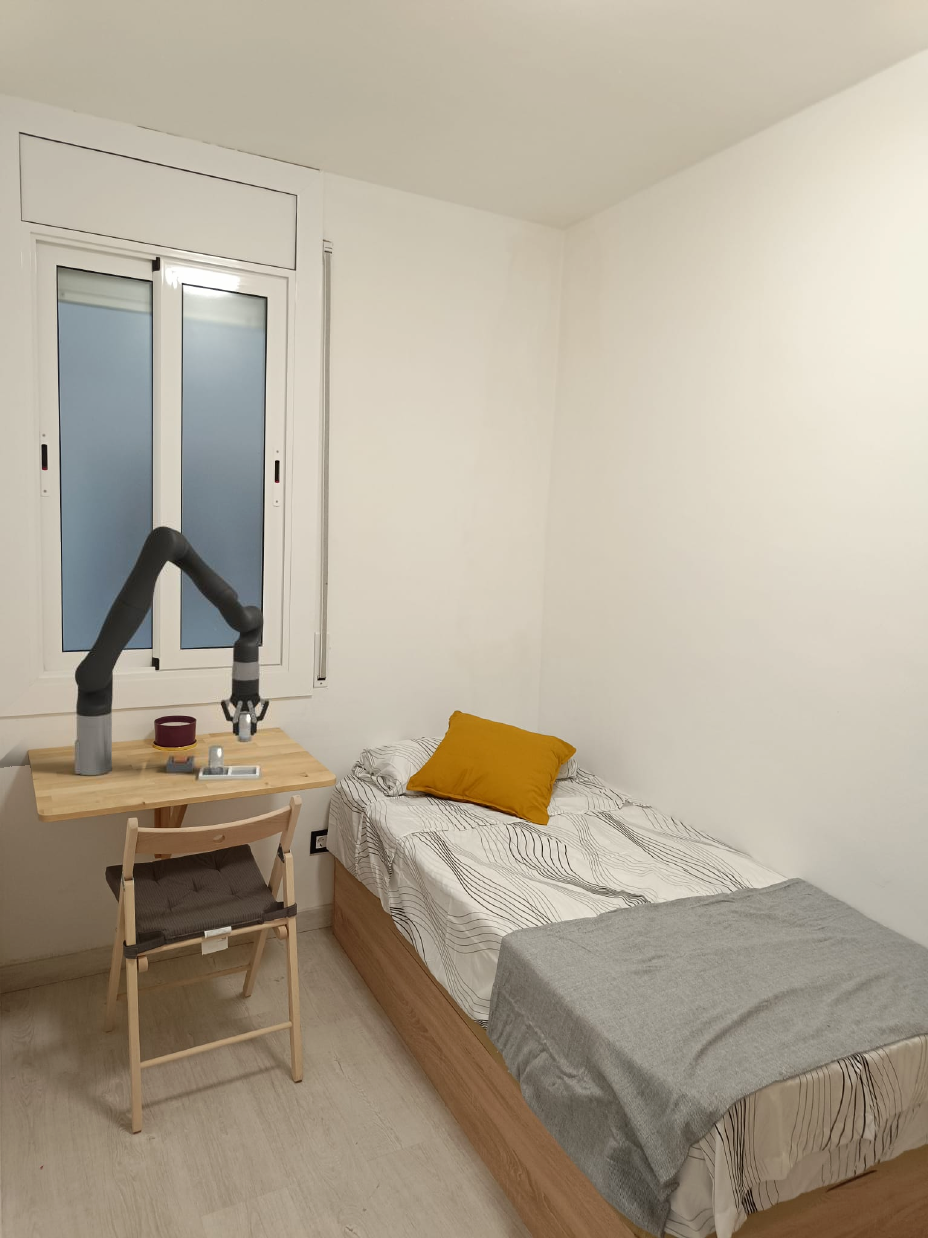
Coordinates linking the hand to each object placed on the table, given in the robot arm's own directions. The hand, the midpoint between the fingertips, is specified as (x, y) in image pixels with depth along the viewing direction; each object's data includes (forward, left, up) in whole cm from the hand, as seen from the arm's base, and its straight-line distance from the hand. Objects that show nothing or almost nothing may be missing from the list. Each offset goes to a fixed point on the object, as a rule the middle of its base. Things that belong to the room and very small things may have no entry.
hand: (244, 734), depth 240 cm
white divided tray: (-4, 0, -13) cm, 13 cm away
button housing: (-18, +5, -13) cm, 23 cm away
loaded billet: (-8, 0, -12) cm, 14 cm away
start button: (-18, +5, -11) cm, 22 cm away
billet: (0, 0, -2) cm, 2 cm away
